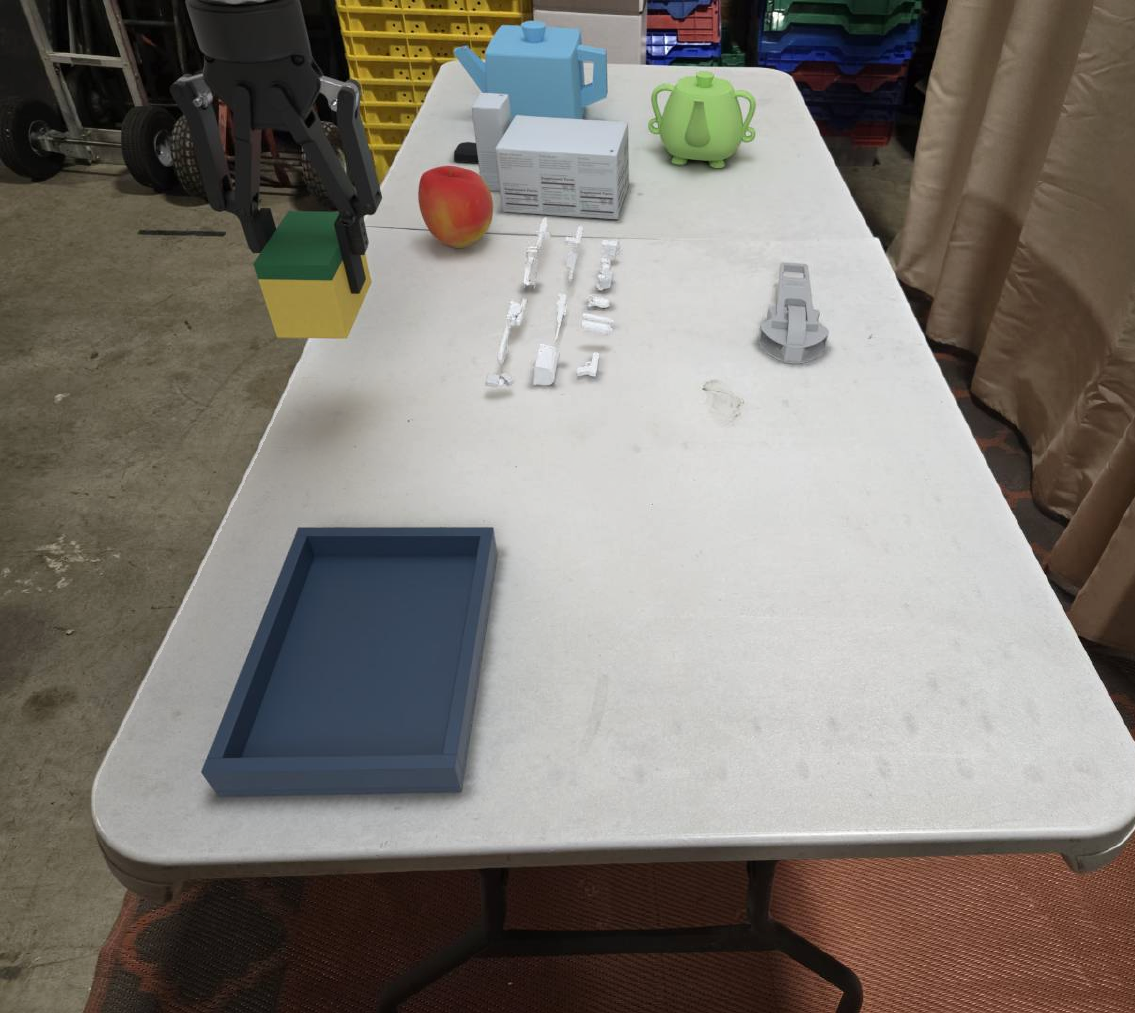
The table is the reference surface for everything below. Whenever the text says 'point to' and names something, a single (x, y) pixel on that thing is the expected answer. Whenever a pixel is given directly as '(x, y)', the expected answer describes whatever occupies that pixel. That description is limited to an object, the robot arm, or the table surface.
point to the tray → (361, 666)
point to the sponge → (308, 278)
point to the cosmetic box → (490, 132)
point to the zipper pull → (793, 320)
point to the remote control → (466, 153)
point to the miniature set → (548, 353)
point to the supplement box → (563, 167)
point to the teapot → (702, 119)
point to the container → (539, 70)
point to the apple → (455, 205)
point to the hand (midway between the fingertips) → (320, 285)
